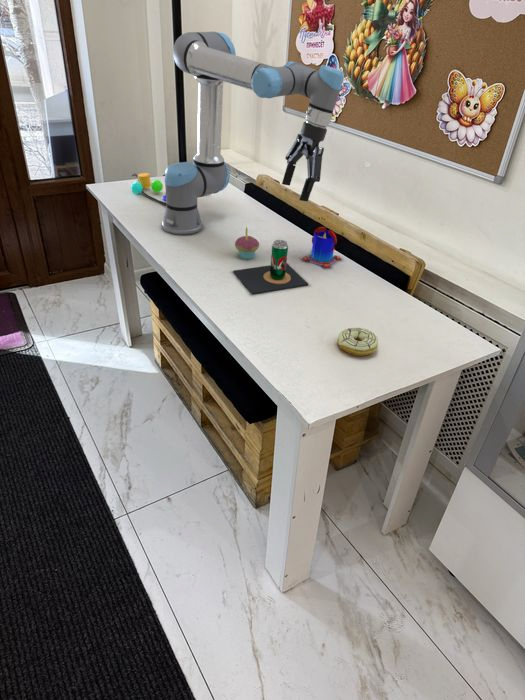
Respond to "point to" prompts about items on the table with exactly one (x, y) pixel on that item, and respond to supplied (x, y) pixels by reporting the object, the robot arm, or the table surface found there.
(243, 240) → the cupcake
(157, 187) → the shape set
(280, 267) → the soda can
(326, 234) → the fantasy tower
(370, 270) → the table surface
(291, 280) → the mat
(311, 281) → the table surface
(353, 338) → the decorated donut
